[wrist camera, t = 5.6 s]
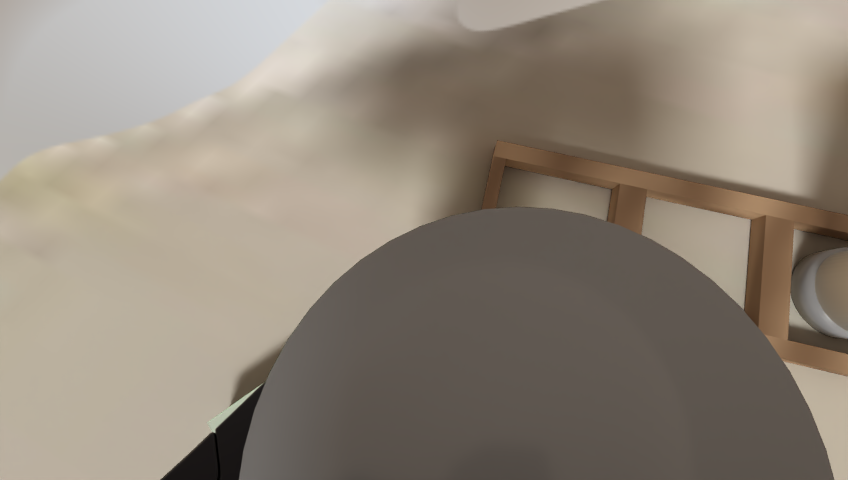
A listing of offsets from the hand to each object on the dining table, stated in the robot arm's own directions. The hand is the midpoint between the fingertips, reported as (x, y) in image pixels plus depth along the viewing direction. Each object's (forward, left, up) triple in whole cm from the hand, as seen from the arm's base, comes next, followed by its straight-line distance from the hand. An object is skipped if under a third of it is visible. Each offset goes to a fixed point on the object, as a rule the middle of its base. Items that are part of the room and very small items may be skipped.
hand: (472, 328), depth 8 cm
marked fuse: (-1, +1, -7) cm, 7 cm away
